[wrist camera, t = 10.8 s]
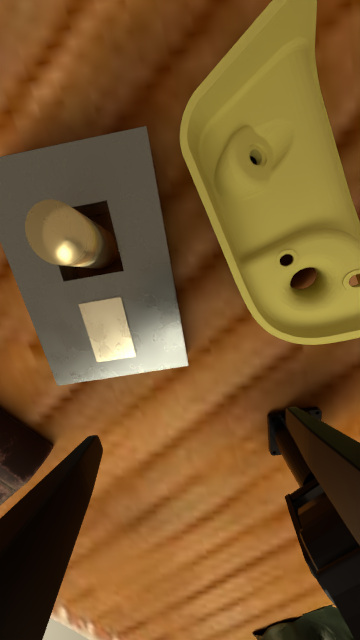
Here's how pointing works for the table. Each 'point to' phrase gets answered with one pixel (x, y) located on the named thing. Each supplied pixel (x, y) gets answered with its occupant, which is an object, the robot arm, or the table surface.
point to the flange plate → (103, 290)
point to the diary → (18, 455)
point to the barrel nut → (68, 236)
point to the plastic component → (277, 179)
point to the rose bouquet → (311, 627)
